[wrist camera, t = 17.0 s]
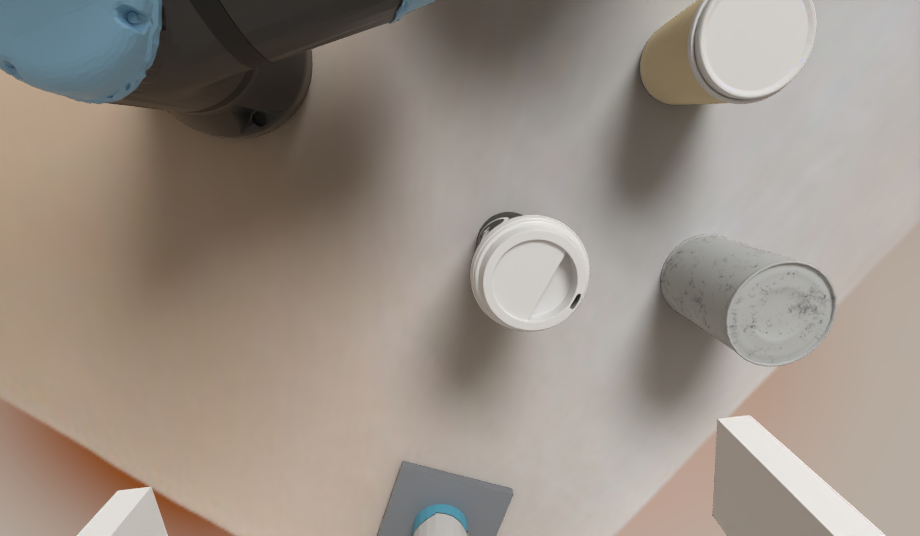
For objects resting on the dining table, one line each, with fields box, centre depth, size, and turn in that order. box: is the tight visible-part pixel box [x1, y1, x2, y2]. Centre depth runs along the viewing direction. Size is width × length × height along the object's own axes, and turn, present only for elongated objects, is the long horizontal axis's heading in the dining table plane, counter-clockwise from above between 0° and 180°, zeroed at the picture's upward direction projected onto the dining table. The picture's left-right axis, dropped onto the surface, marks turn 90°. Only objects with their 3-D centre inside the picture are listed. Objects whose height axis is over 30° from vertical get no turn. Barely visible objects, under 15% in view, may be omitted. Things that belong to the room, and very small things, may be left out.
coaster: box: [377, 461, 513, 536], centre depth 58 cm, size 14×14×1 cm
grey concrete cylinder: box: [660, 234, 837, 366], centre depth 46 cm, size 10×10×12 cm
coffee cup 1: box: [470, 212, 590, 332], centre depth 42 cm, size 10×10×15 cm
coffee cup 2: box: [640, 0, 816, 105], centre depth 40 cm, size 9×9×12 cm
